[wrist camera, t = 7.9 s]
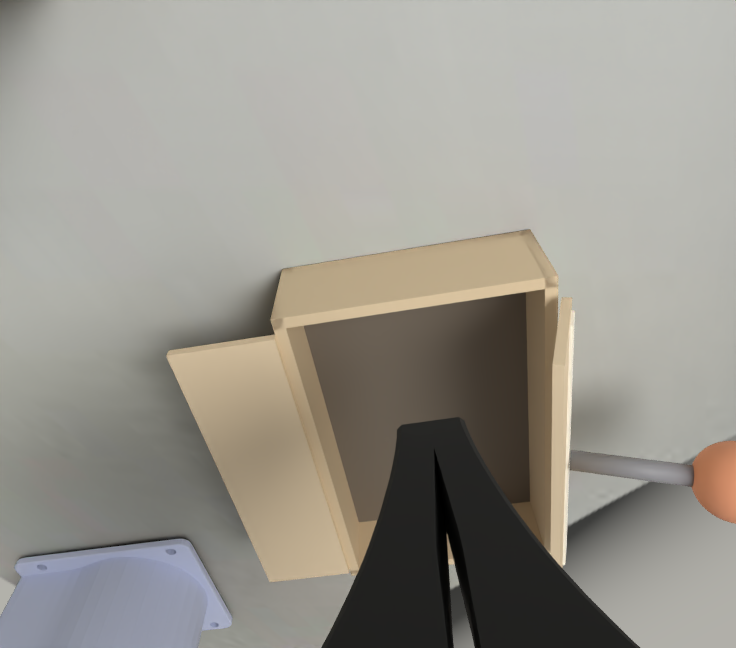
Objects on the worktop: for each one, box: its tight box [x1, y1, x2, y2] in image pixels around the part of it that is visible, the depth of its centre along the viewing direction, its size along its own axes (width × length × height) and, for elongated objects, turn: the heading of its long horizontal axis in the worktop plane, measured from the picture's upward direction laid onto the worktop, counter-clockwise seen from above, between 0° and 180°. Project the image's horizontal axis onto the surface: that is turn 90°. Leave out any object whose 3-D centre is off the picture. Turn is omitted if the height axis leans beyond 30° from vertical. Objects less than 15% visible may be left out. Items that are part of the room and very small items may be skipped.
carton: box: [166, 230, 558, 582], centre depth 23 cm, size 13×14×4 cm
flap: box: [550, 297, 736, 569], centre depth 19 cm, size 4×13×7 cm
